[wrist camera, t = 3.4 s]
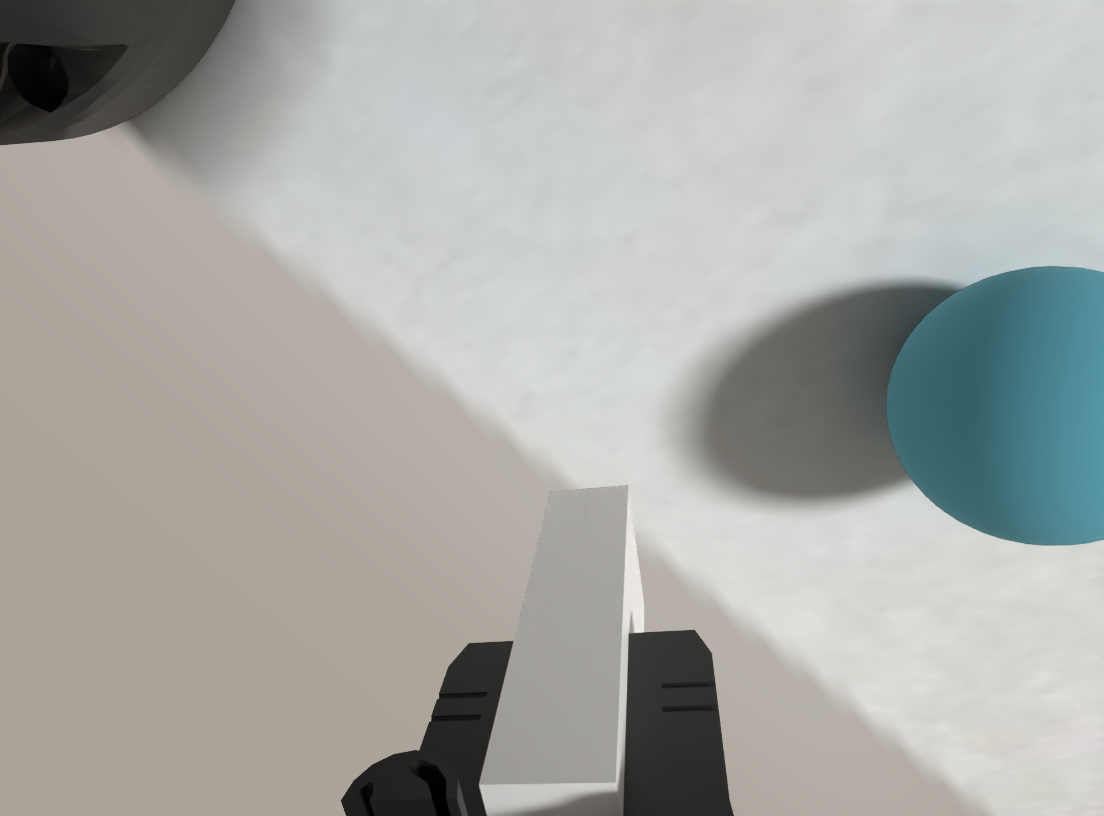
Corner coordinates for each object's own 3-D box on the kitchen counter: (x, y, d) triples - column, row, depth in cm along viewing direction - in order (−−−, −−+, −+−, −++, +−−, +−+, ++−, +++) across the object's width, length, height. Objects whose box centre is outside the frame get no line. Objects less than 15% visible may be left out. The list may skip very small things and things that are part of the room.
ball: (813, 415, 20) (878, 538, 14) (941, 202, 17) (1075, 254, 12) (1013, 496, 20) (1151, 647, 15) (1165, 298, 18) (1399, 391, 12)
